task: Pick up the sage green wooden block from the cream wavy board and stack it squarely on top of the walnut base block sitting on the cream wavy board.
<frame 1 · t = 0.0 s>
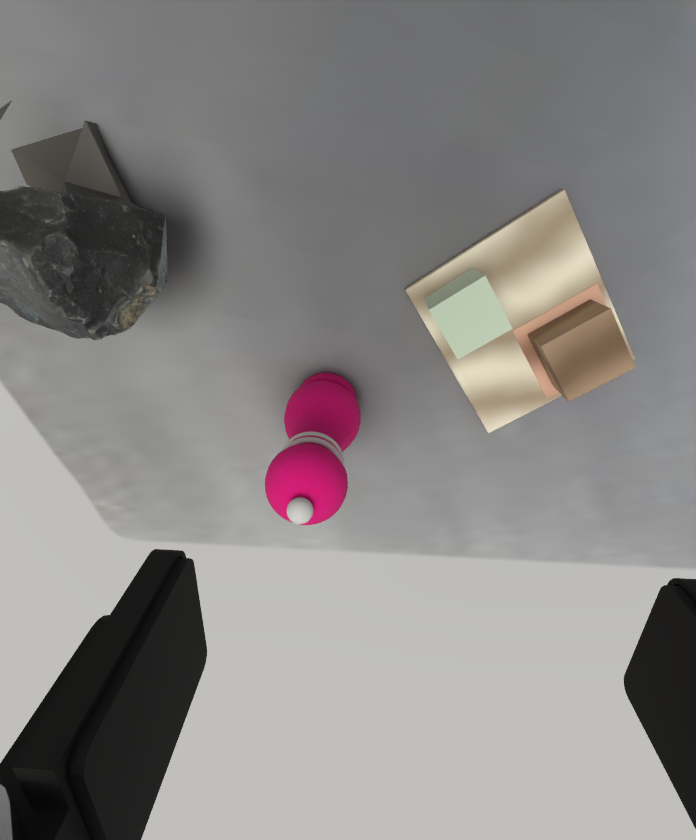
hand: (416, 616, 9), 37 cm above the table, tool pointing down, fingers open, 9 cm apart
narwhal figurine: (124, 224, 42), on the table
pepper mill: (327, 399, 48), on the table
walnut base block: (570, 344, 43), point 1 cm above the table, touching cream wavy board
sage block: (460, 307, 42), point 1 cm above the table, touching cream wavy board
cream wavy board: (519, 322, 44), on the table
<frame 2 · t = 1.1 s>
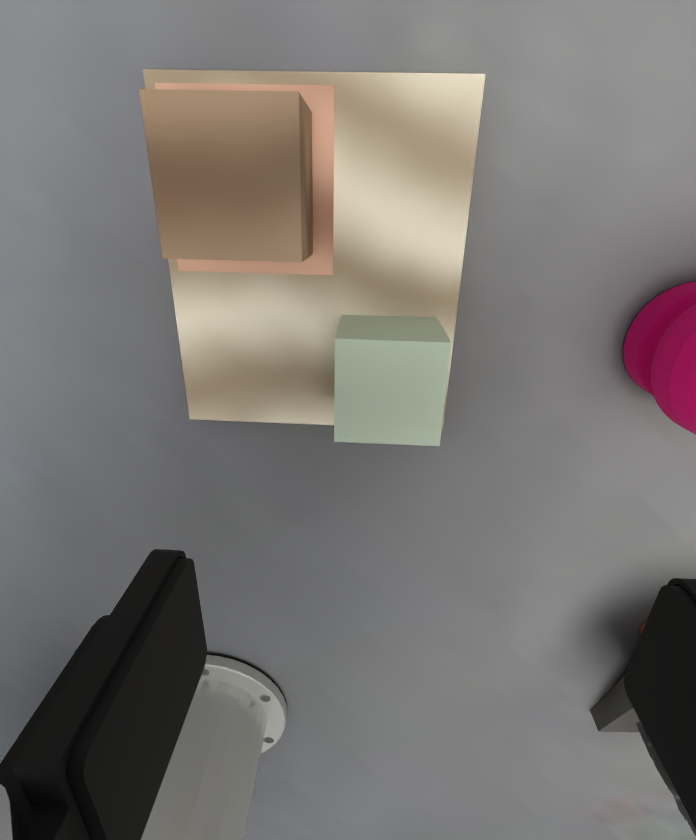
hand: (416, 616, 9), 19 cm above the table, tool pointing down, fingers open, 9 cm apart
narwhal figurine: (658, 653, 35), on the table
pepper mill: (679, 339, 25), on the table
walnut base block: (249, 185, 22), point 1 cm above the table, touching cream wavy board
sage block: (386, 361, 25), point 1 cm above the table, touching cream wavy board
cream wavy board: (315, 272, 25), on the table
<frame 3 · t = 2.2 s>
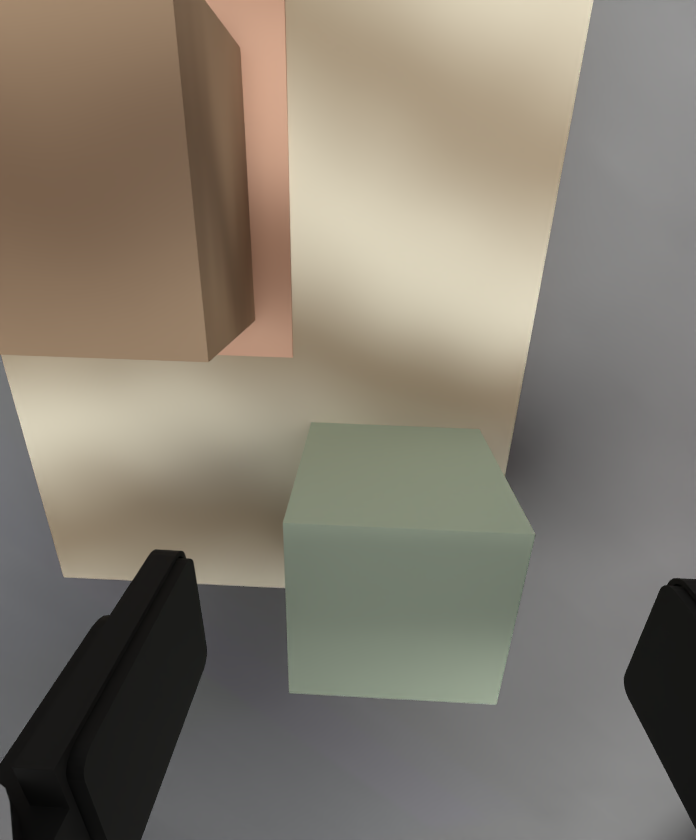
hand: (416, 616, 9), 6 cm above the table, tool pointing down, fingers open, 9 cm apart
walnut base block: (128, 195, 11), point 1 cm above the table, touching cream wavy board
sage block: (389, 496, 15), point 1 cm above the table, touching cream wavy board
cream wavy board: (265, 346, 14), on the table
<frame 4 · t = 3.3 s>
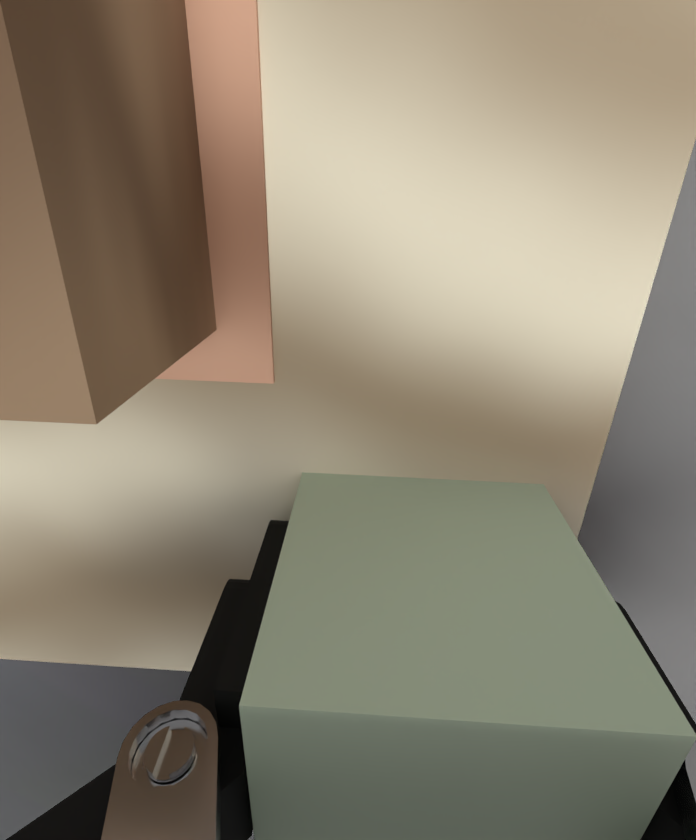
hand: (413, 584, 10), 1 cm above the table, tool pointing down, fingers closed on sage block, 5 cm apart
walnut base block: (9, 133, 7), point 1 cm above the table, touching cream wavy board
sage block: (411, 570, 11), point 1 cm above the table, touching cream wavy board, gripper
cream wavy board: (237, 363, 10), on the table
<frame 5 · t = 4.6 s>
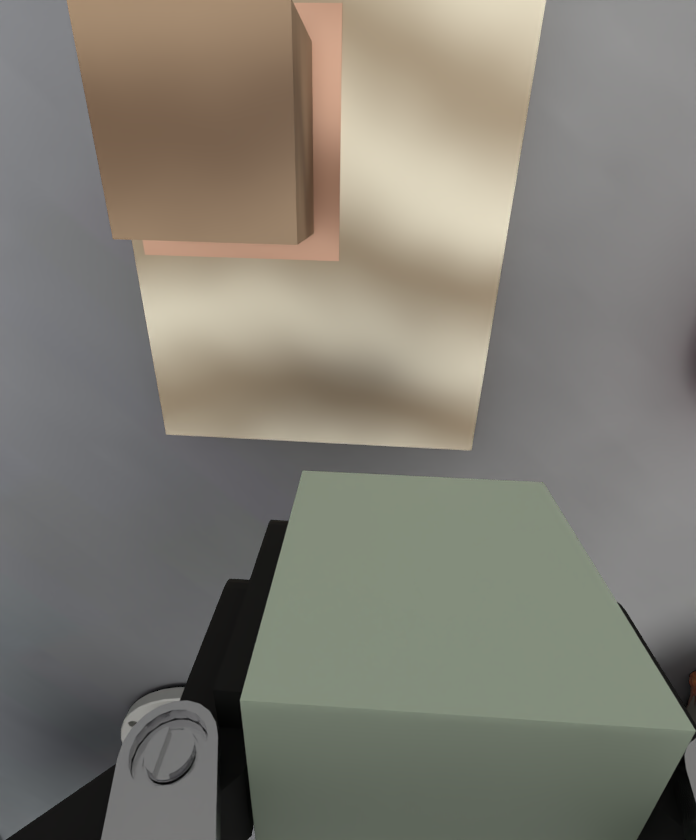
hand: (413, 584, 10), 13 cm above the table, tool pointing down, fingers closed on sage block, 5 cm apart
walnut base block: (231, 143, 17), point 1 cm above the table, touching cream wavy board
sage block: (411, 568, 11), point 12 cm above the table, touching gripper
cream wavy board: (317, 256, 20), on the table
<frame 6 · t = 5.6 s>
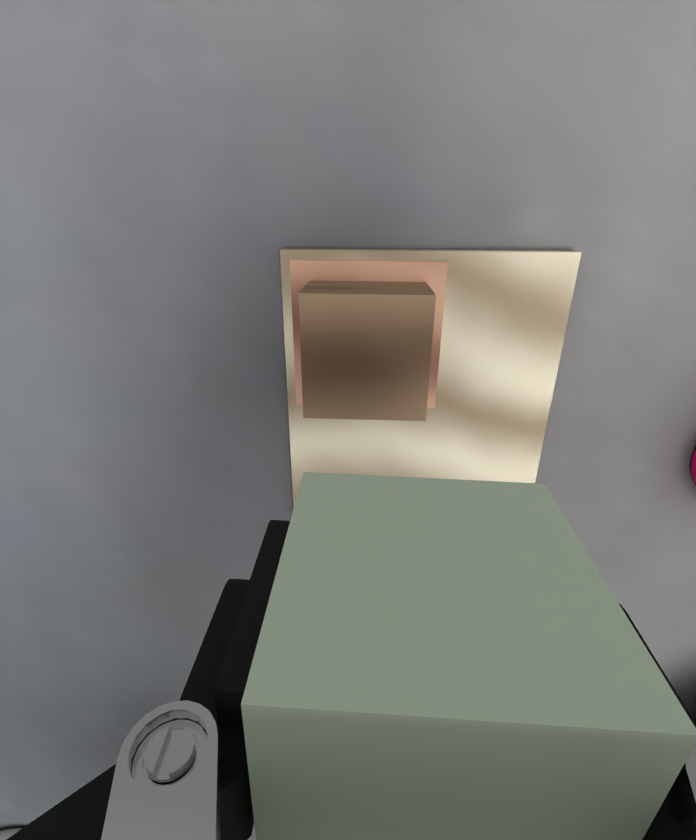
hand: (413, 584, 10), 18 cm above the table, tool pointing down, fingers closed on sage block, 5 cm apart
walnut base block: (366, 338, 25), point 1 cm above the table, touching cream wavy board
sage block: (412, 570, 11), point 17 cm above the table, touching gripper
cream wavy board: (415, 400, 27), on the table
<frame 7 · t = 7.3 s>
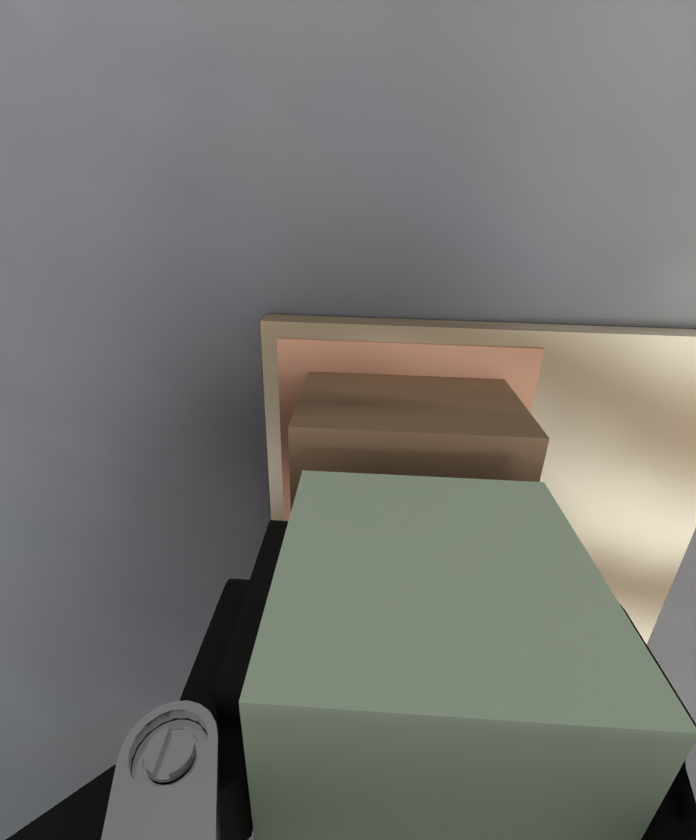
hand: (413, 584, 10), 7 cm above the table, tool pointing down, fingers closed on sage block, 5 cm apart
walnut base block: (399, 459, 15), point 1 cm above the table, touching cream wavy board
sage block: (412, 569, 11), point 6 cm above the table, touching gripper
cream wavy board: (467, 538, 18), on the table
when the fingers open (6 cm above the table, at t = 7.7 s): sage block stays where it is, resting on walnut base block.
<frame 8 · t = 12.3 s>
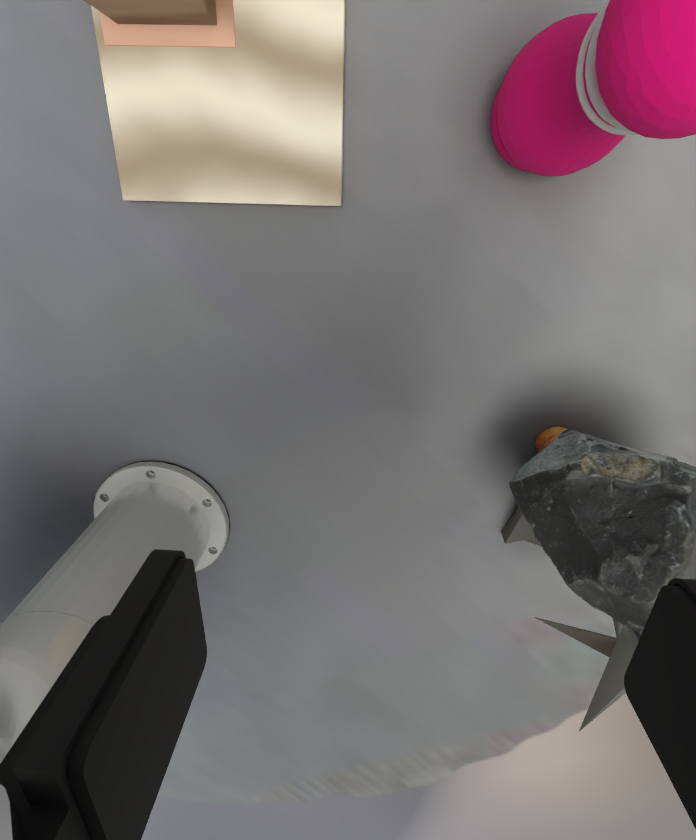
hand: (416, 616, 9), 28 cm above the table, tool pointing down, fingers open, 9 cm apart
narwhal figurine: (554, 469, 40), on the table
pepper mill: (539, 116, 29), on the table
cream wavy board: (224, 52, 29), on the table
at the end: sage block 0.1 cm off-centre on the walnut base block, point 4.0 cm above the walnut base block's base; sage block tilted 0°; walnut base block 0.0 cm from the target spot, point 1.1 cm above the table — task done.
